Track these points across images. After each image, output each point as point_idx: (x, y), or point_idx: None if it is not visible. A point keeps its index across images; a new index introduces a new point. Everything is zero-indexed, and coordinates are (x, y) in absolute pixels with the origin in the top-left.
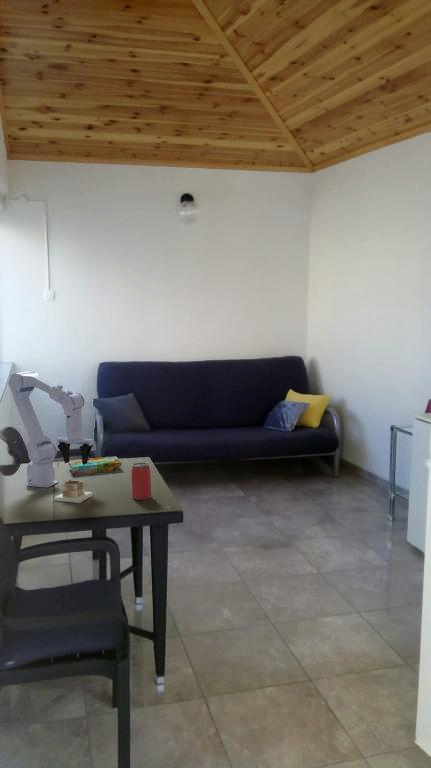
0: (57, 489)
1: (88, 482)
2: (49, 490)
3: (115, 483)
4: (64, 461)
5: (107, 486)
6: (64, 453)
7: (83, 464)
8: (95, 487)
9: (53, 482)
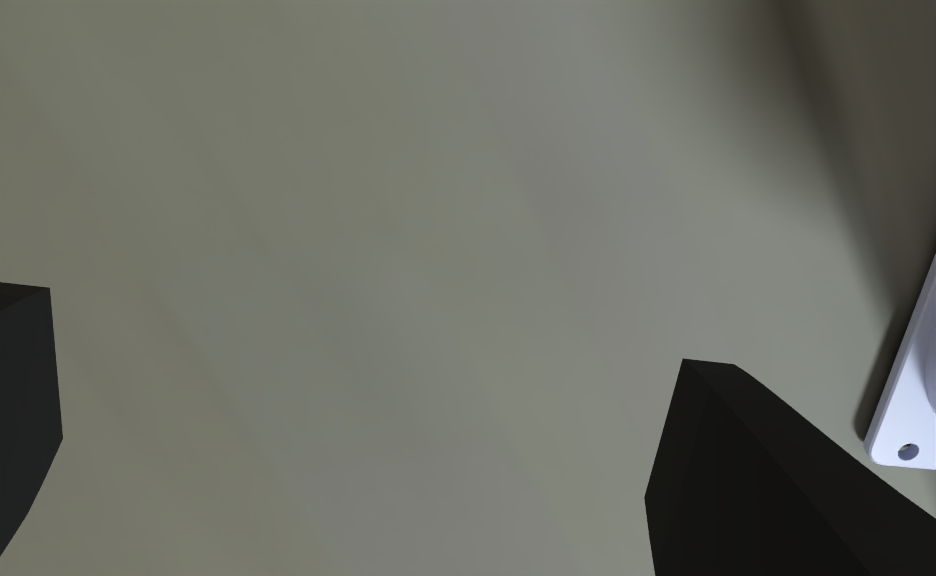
0: (765, 110)
1: (417, 502)
2: (893, 31)
3: None
4: (755, 382)
5: None
6: (839, 566)
7: (20, 287)
8: (179, 300)
9: (929, 365)
